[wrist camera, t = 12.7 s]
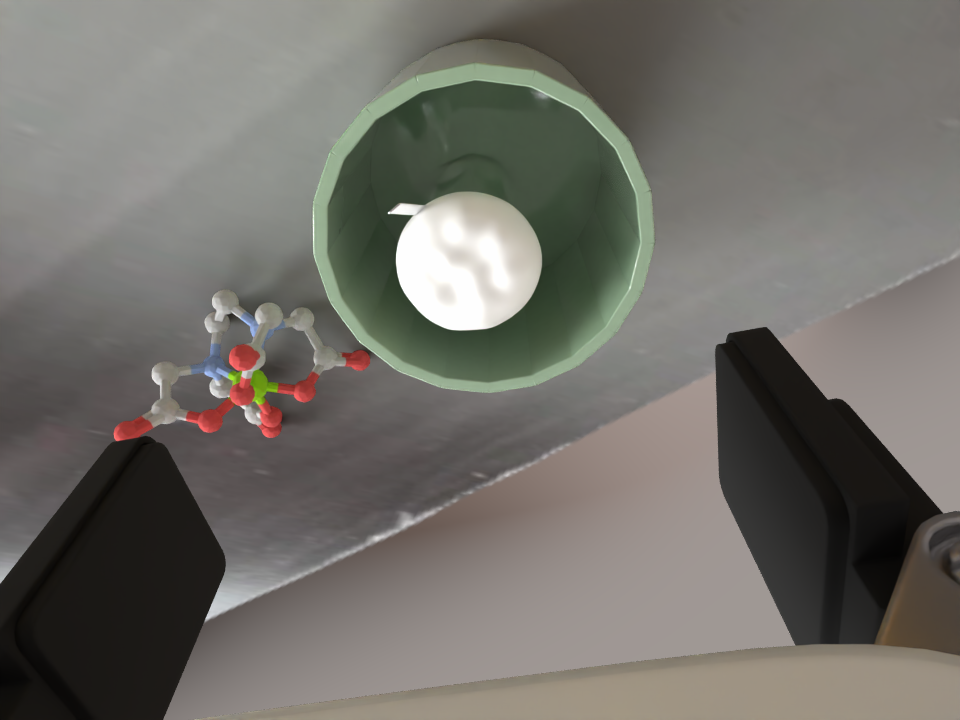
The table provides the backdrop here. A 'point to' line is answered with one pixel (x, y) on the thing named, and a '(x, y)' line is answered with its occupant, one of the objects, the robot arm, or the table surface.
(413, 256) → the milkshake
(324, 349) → the molecular model
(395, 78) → the pen holder
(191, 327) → the table surface
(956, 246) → the table surface
